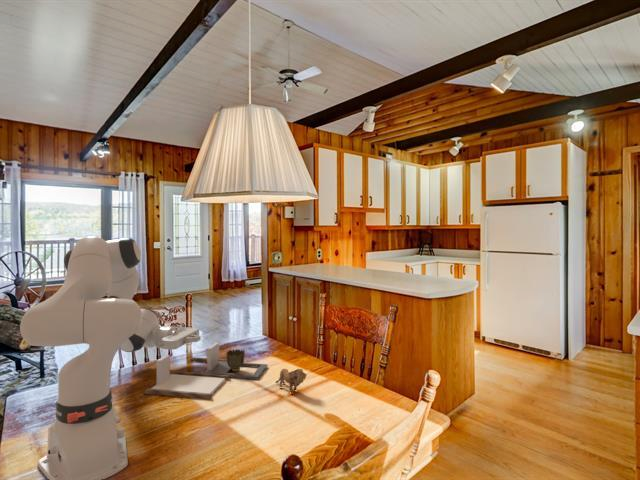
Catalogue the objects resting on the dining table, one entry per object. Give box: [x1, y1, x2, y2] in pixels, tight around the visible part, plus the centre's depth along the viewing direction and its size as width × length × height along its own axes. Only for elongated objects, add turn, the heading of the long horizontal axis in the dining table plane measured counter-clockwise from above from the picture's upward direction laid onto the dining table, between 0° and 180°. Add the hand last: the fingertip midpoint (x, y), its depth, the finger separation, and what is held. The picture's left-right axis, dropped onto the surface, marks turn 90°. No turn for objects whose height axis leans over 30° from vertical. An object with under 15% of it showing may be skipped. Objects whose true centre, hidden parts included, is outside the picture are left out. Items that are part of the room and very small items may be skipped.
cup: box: [225, 348, 246, 373], centre depth 146 cm, size 8×7×8 cm
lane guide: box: [144, 356, 245, 400], centre depth 139 cm, size 24×33×2 cm
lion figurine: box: [275, 368, 308, 393], centre depth 130 cm, size 15×5×9 cm, turn 49°
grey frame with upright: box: [203, 342, 268, 380], centre depth 146 cm, size 22×13×10 cm, turn 82°
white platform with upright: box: [150, 354, 226, 395], centre depth 130 cm, size 22×13×10 cm, turn 82°
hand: (199, 339), depth 147 cm, fingers closed
